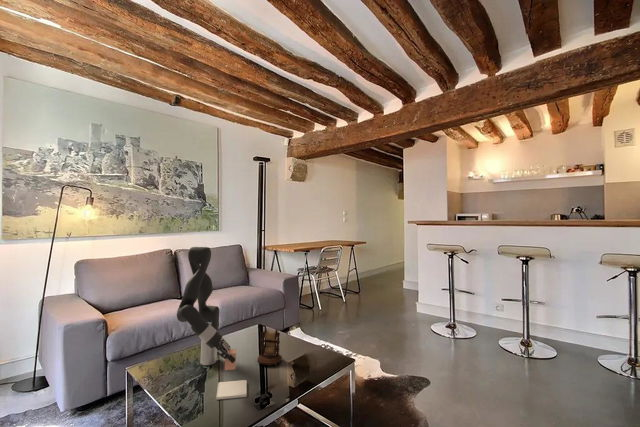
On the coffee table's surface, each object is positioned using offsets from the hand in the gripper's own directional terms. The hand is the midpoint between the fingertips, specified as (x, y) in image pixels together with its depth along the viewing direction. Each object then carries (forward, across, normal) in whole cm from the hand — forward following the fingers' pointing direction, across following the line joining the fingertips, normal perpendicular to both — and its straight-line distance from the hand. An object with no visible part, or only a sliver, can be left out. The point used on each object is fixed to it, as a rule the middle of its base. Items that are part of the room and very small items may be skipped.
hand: (234, 358), depth 157 cm
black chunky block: (+22, -14, +1) cm, 27 cm away
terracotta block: (+2, 0, +4) cm, 5 cm away
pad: (+11, 0, +12) cm, 16 cm away
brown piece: (+26, +30, -3) cm, 39 cm away
